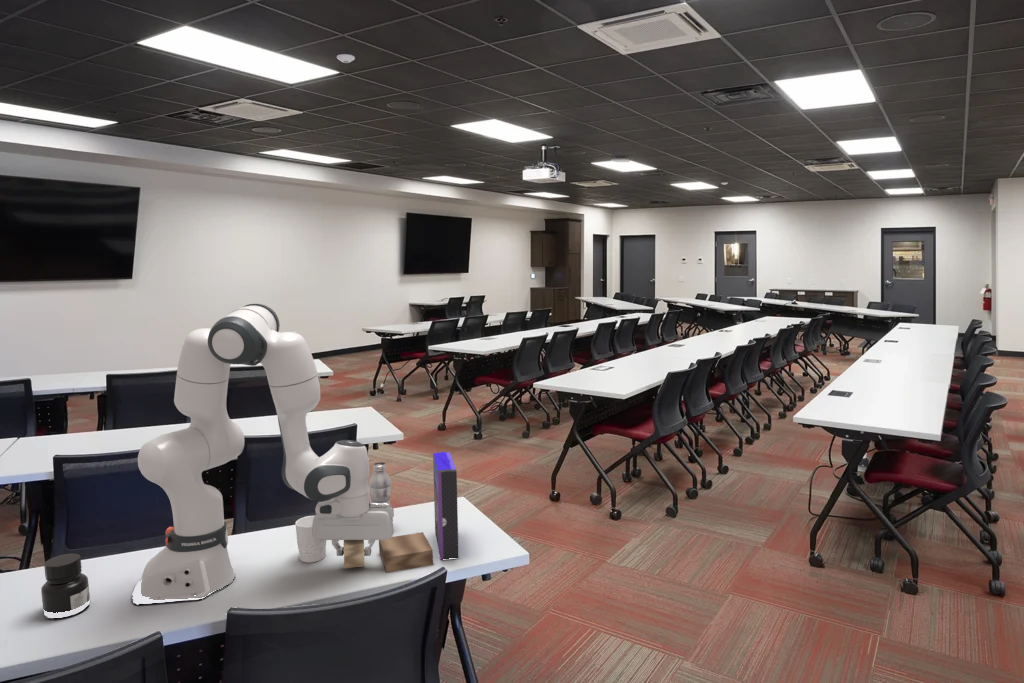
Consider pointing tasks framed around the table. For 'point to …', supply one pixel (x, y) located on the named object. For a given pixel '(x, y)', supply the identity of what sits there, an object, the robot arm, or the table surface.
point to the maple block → (353, 553)
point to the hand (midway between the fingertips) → (354, 554)
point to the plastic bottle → (380, 484)
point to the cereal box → (445, 505)
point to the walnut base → (405, 552)
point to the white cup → (309, 541)
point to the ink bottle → (64, 584)
